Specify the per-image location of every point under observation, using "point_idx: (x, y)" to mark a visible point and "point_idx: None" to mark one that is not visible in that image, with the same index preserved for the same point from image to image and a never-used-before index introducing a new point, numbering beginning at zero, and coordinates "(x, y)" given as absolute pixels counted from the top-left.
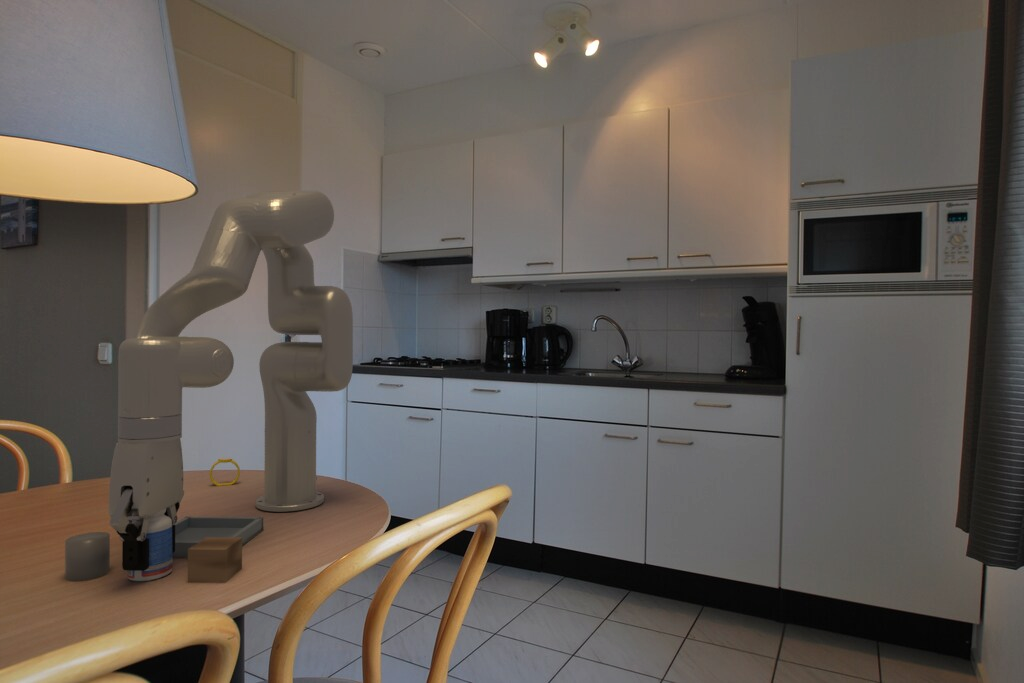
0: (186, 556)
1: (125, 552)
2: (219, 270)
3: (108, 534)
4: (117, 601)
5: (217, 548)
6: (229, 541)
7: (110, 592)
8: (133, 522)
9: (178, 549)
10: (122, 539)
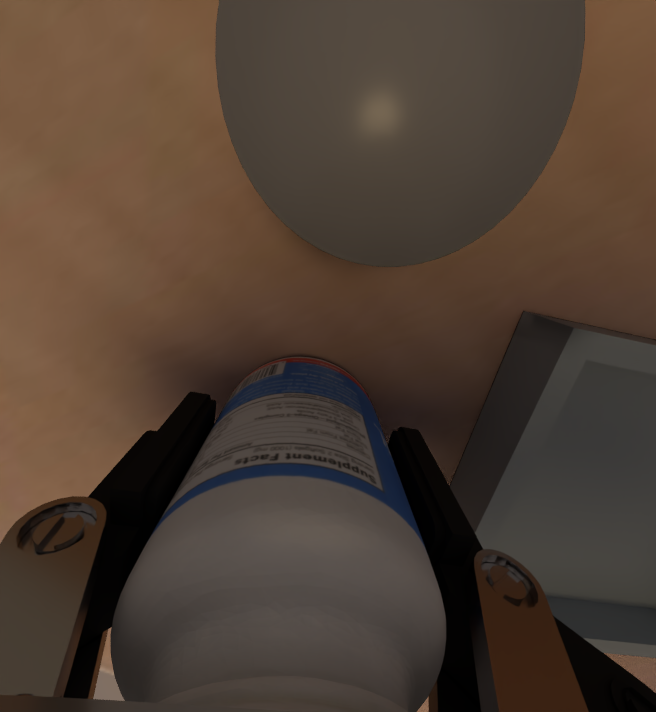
0: (454, 481)
1: (113, 468)
2: None
3: (456, 241)
4: (60, 406)
5: None
6: None
7: (138, 352)
8: (172, 629)
9: (477, 475)
10: (35, 525)
